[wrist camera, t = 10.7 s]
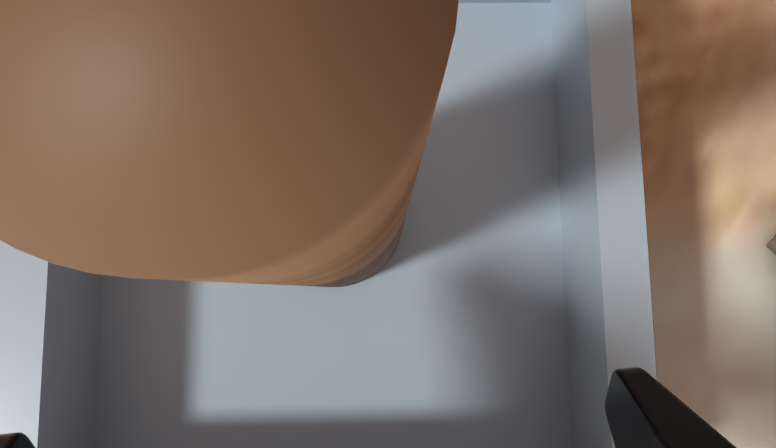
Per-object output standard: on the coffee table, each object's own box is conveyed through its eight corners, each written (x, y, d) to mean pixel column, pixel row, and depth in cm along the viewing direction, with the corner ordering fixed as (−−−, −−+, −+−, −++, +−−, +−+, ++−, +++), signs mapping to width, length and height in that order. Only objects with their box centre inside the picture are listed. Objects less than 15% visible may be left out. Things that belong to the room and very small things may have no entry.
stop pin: (428, 236, 18) (578, 51, 4) (317, 314, 18) (62, 404, 4) (352, 128, 18) (246, -390, 4) (242, 202, 18) (-247, -92, 4)
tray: (604, 482, 18) (667, 533, 14) (67, 493, 18) (-22, 549, 14) (575, -17, 20) (624, -95, 16) (93, -16, 20) (22, -95, 16)
